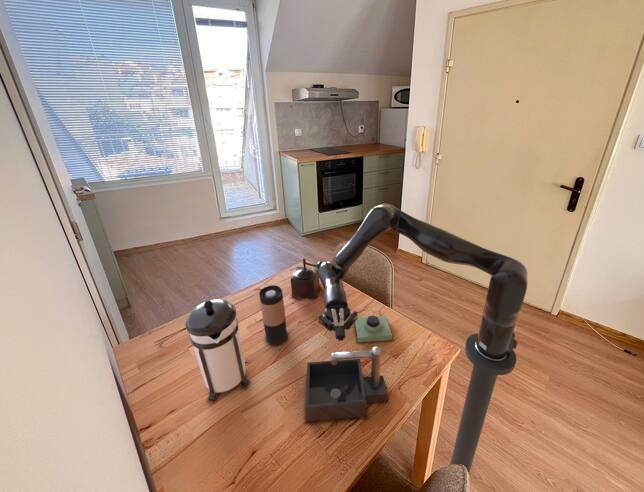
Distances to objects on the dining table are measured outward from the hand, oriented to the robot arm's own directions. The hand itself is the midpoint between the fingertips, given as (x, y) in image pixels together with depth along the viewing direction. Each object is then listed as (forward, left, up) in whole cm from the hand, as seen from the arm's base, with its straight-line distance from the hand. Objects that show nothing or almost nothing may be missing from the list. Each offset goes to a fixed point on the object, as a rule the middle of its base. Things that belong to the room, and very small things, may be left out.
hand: (340, 338), depth 84 cm
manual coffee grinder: (+10, -43, -16) cm, 47 cm away
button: (-13, -18, -12) cm, 25 cm away
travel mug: (+22, -18, -16) cm, 33 cm away
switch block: (-13, -18, -16) cm, 27 cm away
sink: (-1, +6, -16) cm, 17 cm away
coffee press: (+36, -3, -16) cm, 40 cm away
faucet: (-4, +6, -12) cm, 14 cm away
